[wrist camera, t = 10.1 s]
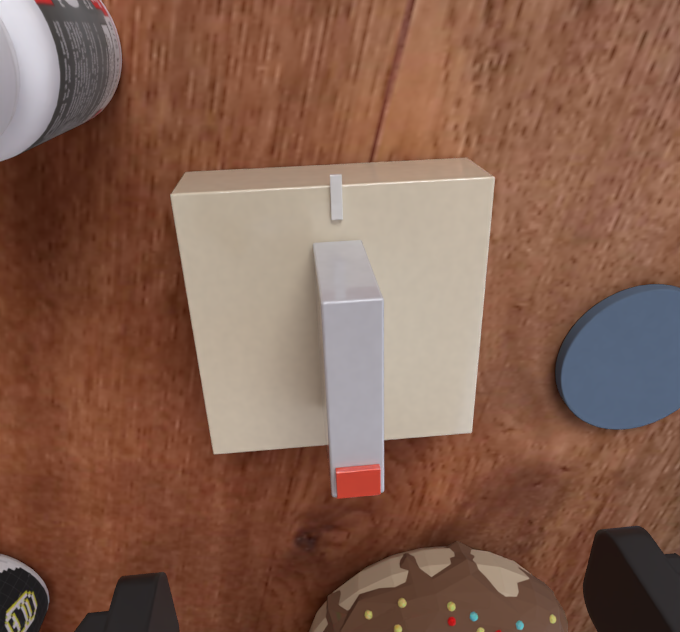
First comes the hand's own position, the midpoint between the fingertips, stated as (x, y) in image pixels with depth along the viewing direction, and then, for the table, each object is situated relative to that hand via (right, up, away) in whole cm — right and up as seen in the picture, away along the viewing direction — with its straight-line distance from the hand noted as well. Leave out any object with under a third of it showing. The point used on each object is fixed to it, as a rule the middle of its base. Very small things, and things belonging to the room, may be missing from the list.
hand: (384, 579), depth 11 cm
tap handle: (-1, +4, +9) cm, 10 cm away
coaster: (+12, +3, +14) cm, 19 cm away
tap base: (-1, +6, +12) cm, 13 cm away
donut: (+3, -12, +21) cm, 24 cm away
